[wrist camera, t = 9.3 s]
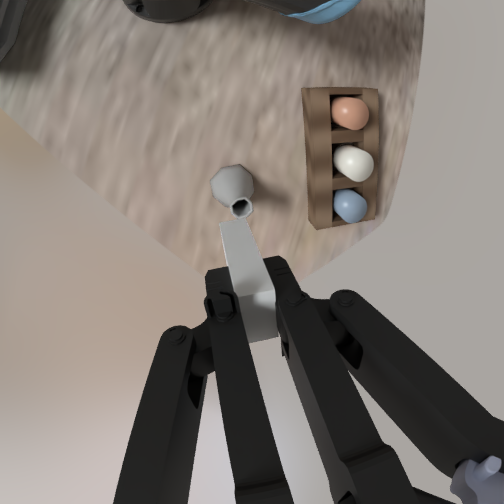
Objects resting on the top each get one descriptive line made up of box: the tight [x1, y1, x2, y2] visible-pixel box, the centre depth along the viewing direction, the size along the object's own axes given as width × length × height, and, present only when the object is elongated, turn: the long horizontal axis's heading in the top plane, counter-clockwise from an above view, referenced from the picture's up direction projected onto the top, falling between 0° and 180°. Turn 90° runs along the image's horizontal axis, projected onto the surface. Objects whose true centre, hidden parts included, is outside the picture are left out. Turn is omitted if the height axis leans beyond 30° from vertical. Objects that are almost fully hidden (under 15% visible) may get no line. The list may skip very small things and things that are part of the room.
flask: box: [210, 164, 254, 219], centre depth 45 cm, size 7×7×10 cm
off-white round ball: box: [332, 144, 374, 182], centre depth 45 cm, size 5×5×5 cm
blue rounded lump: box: [332, 188, 367, 223], centre depth 51 cm, size 5×5×5 cm
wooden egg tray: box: [301, 87, 379, 230], centre depth 48 cm, size 24×12×4 cm, turn 6°
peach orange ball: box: [330, 96, 369, 130], centre depth 42 cm, size 5×5×5 cm
